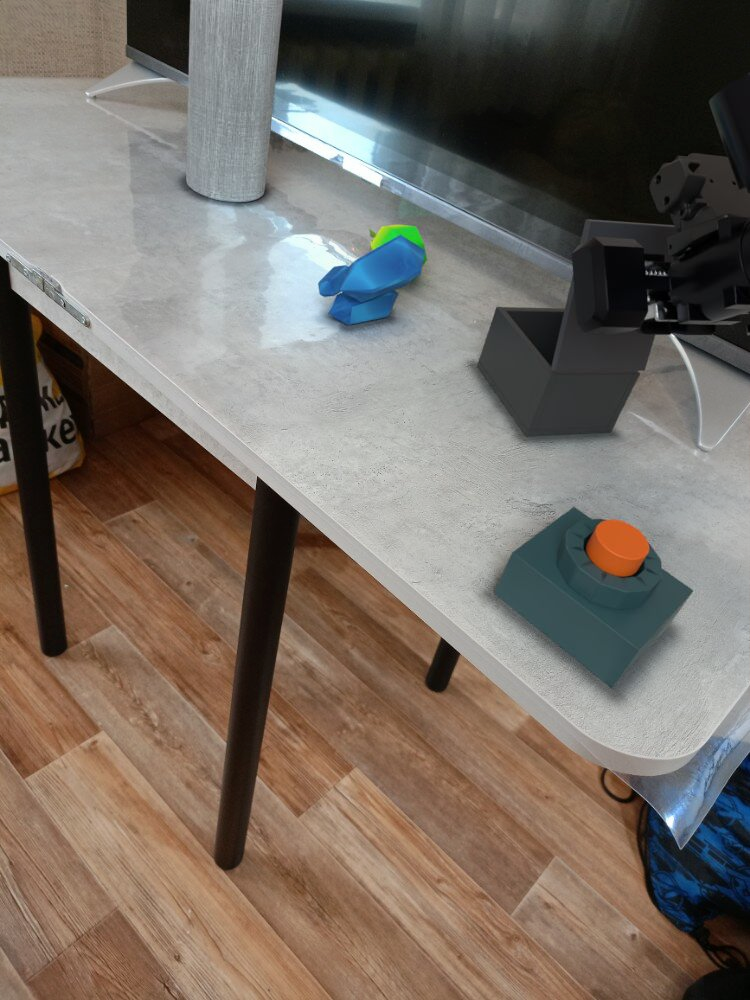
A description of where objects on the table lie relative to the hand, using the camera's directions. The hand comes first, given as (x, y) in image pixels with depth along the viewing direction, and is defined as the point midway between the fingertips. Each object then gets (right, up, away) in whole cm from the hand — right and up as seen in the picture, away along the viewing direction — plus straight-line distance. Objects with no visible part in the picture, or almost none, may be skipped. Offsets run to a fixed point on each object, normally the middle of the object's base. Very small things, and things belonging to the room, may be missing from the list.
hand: (615, 318), depth 63 cm
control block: (-5, -23, -9) cm, 25 cm away
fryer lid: (0, +2, 0) cm, 2 cm away
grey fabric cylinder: (-39, +25, +35) cm, 58 cm away
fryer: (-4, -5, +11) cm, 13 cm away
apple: (-19, +12, +26) cm, 34 cm away
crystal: (-21, +4, +17) cm, 27 cm away
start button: (-4, -19, -13) cm, 23 cm away
